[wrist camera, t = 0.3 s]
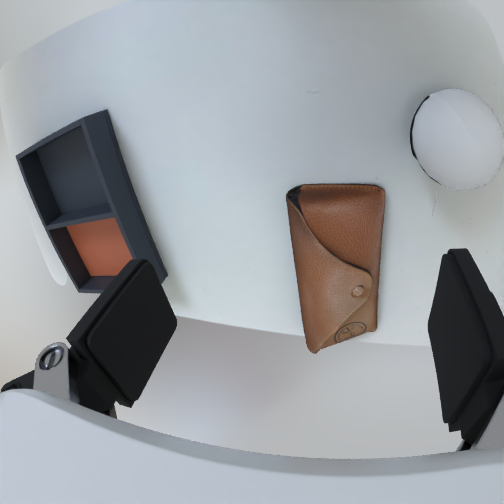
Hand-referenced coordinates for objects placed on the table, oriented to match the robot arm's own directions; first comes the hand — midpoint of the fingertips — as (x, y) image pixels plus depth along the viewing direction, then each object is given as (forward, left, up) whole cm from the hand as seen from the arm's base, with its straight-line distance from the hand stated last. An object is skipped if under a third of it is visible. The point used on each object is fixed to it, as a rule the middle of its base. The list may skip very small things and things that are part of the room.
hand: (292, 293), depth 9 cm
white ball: (0, +10, -18) cm, 20 cm away
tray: (+2, -25, -18) cm, 31 cm away
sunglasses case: (+12, +1, -18) cm, 21 cm away
